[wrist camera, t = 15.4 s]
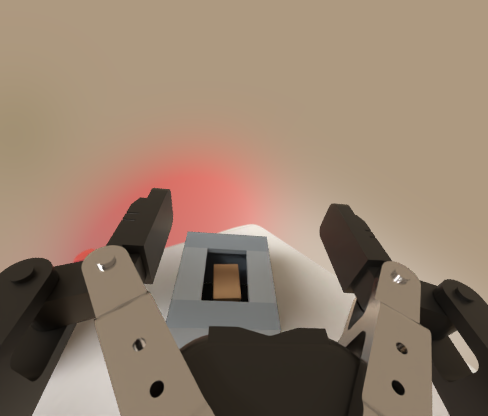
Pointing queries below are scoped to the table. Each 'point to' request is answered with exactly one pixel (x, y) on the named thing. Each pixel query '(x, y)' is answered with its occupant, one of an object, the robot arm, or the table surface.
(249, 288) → the grey box with opening
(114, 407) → the table surface
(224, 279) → the wooden block
